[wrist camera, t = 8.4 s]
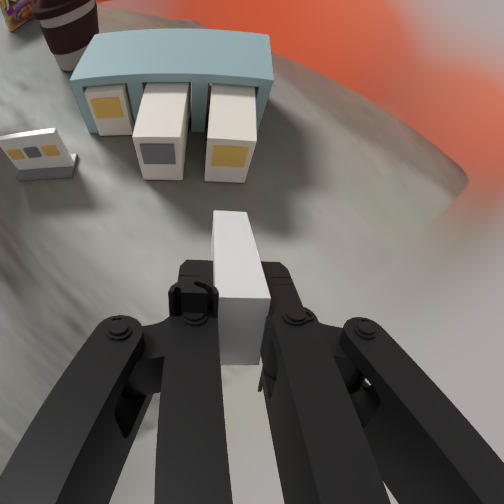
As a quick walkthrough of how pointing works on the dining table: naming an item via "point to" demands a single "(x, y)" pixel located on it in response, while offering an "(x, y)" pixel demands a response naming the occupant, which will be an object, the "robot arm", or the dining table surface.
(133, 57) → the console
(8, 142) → the card
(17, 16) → the candy box
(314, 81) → the dining table surface
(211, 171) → the button
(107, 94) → the button
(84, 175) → the dining table surface
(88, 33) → the coffee cup
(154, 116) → the middle button
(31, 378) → the dining table surface
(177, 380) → the robot arm
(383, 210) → the dining table surface
